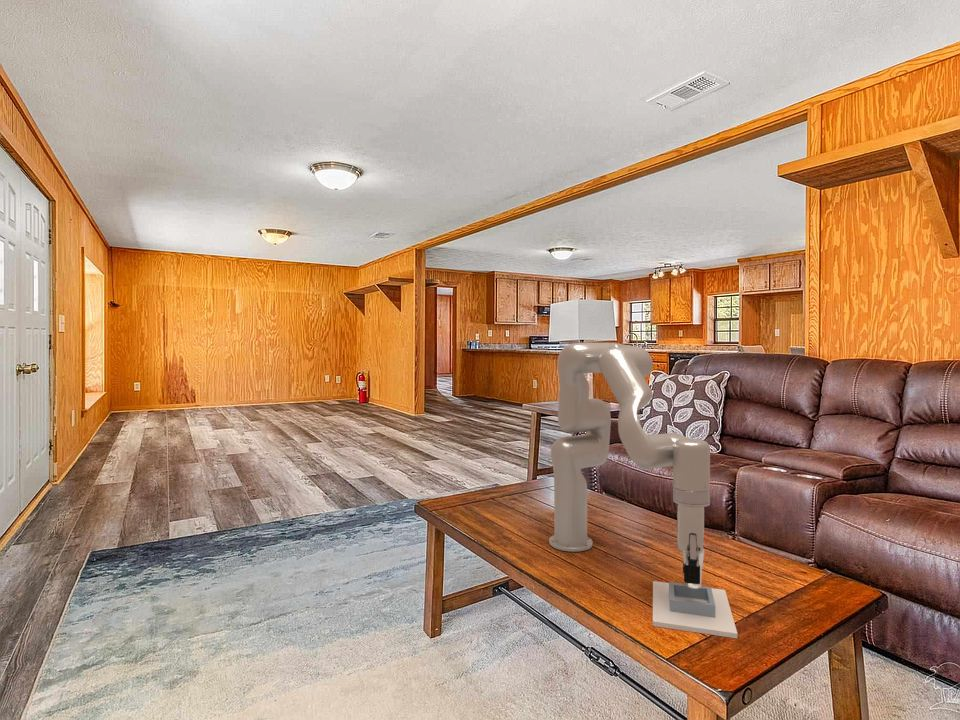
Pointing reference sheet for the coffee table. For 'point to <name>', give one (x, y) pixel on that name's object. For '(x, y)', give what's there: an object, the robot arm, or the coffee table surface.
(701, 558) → the milkshake
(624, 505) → the coffee table surface
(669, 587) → the dock
